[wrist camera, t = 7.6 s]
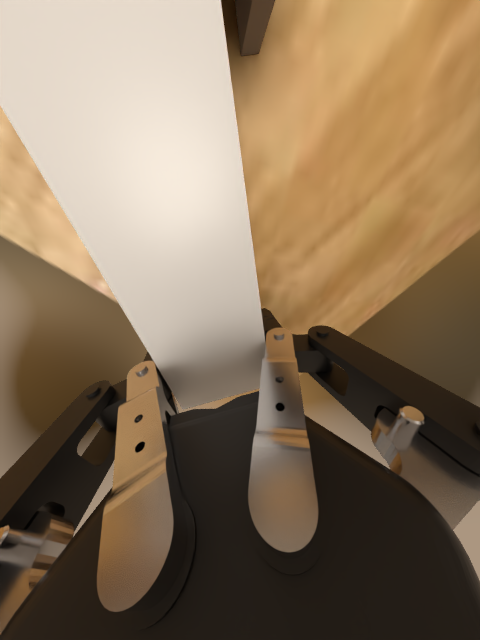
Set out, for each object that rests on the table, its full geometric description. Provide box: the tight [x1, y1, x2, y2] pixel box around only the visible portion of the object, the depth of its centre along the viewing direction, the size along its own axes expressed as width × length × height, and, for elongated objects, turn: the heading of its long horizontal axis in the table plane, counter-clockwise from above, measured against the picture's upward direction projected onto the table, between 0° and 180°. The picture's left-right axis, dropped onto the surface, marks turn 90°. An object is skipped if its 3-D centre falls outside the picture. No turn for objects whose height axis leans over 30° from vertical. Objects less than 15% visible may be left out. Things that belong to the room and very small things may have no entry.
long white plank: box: [0, 0, 266, 409], centre depth 8 cm, size 16×5×5 cm, turn 11°
